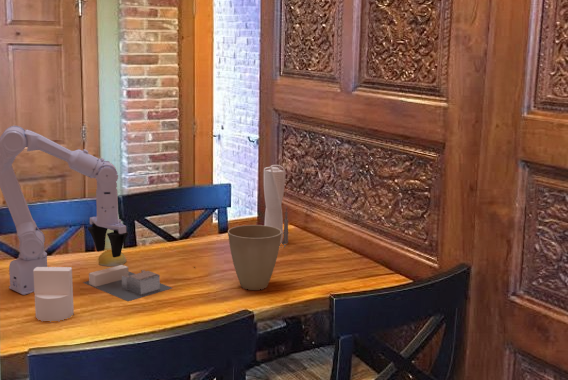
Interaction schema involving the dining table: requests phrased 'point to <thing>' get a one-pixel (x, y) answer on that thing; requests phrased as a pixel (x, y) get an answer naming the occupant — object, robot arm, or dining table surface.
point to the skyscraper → (275, 200)
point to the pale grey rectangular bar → (107, 275)
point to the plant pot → (254, 254)
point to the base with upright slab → (53, 293)
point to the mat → (117, 291)
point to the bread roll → (111, 259)
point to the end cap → (141, 283)
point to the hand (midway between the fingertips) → (108, 253)
